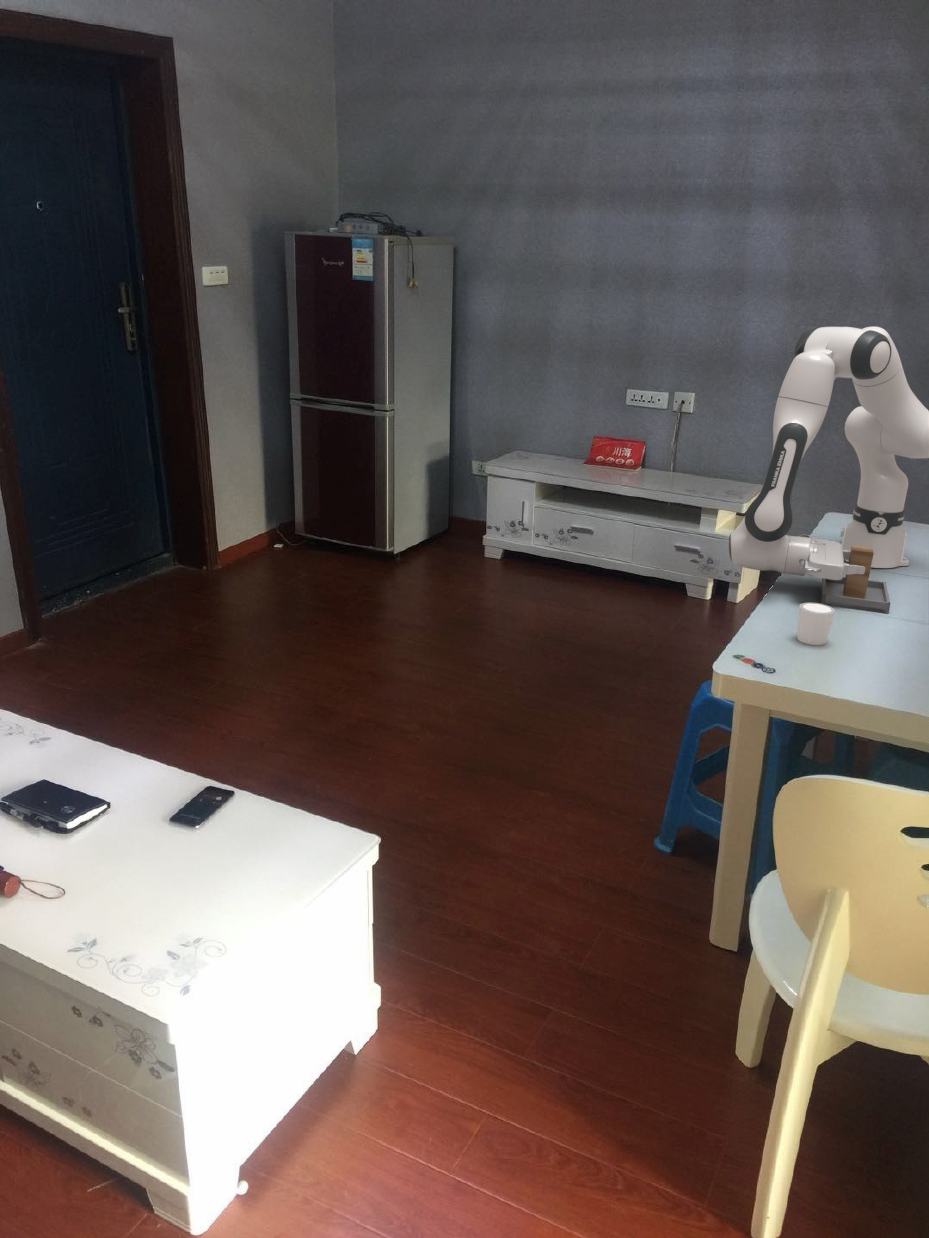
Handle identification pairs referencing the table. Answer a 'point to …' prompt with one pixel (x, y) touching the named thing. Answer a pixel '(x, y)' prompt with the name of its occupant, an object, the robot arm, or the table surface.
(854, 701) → the table surface
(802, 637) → the white cup
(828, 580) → the charcoal tray
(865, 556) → the walnut block
